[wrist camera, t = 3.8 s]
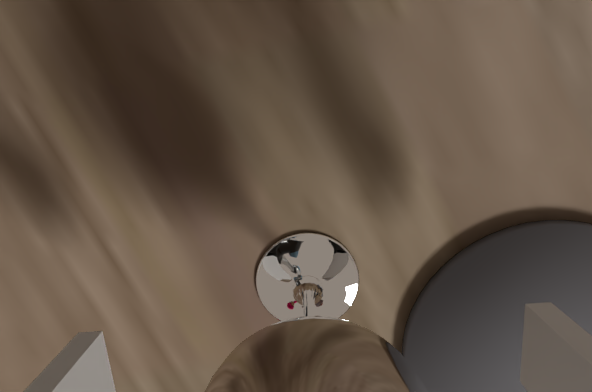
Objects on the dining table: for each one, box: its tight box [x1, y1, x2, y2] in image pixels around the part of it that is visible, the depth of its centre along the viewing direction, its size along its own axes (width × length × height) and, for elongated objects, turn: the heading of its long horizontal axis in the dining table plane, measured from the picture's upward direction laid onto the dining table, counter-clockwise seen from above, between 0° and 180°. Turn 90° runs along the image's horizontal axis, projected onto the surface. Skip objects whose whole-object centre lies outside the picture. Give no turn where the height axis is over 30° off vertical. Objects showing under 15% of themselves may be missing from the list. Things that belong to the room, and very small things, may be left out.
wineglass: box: [205, 232, 429, 392], centre depth 11 cm, size 6×6×12 cm
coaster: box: [402, 220, 592, 392], centre depth 18 cm, size 12×12×1 cm
